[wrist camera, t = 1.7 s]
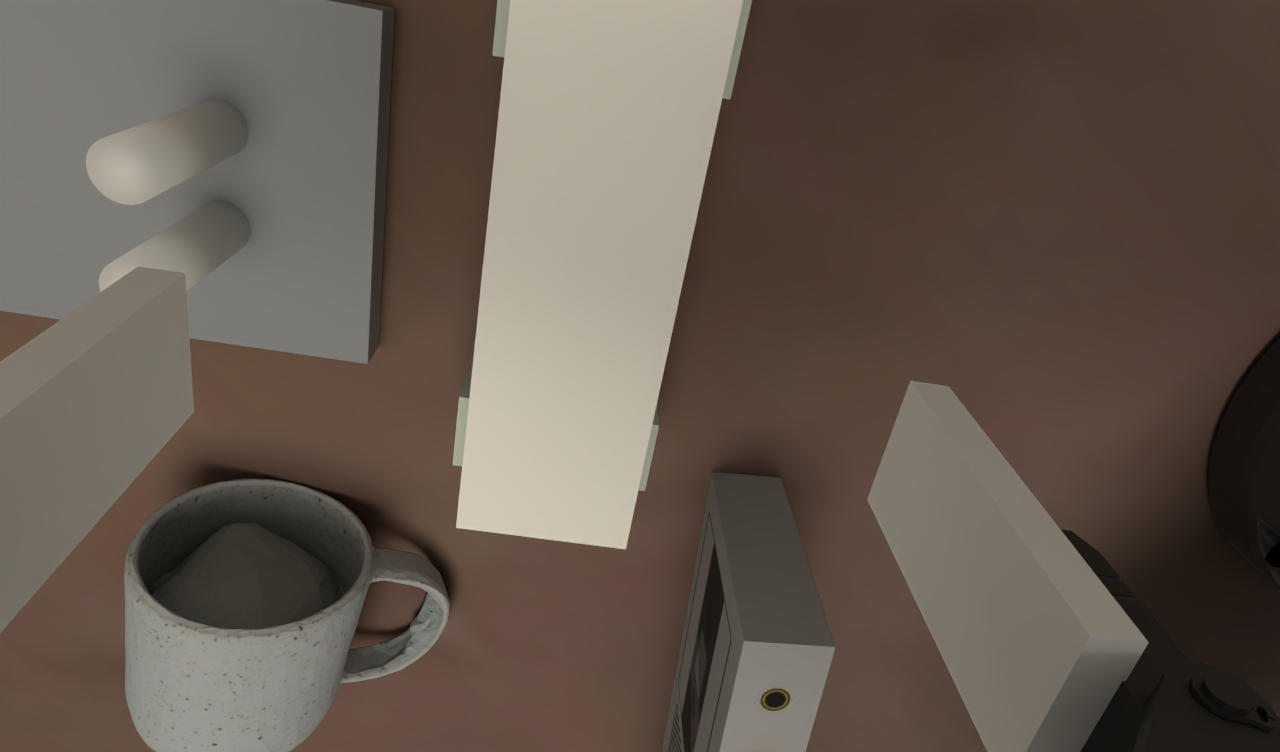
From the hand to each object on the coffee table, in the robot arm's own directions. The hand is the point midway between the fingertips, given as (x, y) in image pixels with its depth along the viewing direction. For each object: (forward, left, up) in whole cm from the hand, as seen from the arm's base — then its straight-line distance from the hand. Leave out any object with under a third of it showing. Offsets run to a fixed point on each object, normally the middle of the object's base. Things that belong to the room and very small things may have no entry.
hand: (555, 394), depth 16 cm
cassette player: (-8, +17, -14) cm, 23 cm away
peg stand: (+17, +1, -13) cm, 21 cm away
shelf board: (0, 0, -8) cm, 8 cm away
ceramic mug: (+8, +16, -14) cm, 23 cm away
